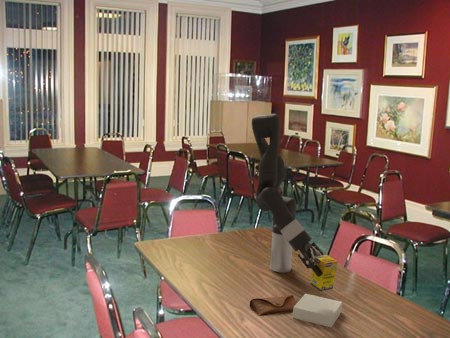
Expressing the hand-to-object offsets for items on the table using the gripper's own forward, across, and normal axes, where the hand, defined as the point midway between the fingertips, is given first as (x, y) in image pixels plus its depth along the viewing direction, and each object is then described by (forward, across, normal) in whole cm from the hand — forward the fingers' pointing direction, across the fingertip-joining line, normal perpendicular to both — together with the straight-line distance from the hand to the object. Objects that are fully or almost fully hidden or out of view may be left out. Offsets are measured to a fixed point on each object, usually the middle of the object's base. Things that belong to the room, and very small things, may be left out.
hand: (324, 271), depth 181 cm
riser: (+11, 0, +13) cm, 17 cm away
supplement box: (+4, 0, +5) cm, 6 cm away
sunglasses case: (+1, -3, +24) cm, 24 cm away
